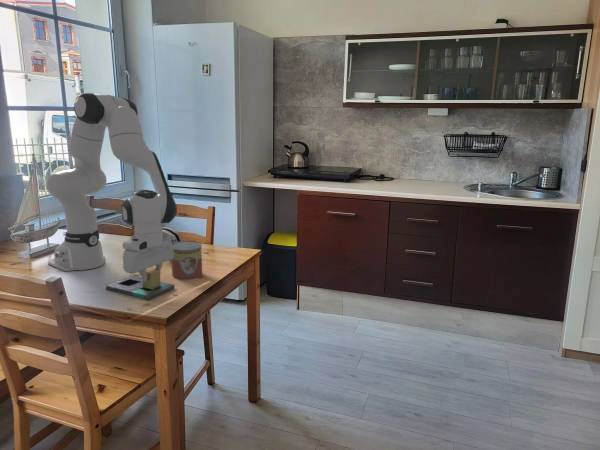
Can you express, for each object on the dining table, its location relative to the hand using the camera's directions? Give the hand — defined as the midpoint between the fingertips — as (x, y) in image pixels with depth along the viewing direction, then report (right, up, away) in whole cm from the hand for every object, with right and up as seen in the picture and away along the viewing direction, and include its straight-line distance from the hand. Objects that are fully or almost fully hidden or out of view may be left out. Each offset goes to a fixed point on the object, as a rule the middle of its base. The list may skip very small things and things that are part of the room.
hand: (151, 278), depth 158 cm
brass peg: (0, -3, +1) cm, 3 cm away
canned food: (+8, -2, +19) cm, 21 cm away
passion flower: (-2, +3, +38) cm, 38 cm away
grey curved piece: (-10, +8, +59) cm, 60 cm away
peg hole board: (-5, -5, +3) cm, 7 cm away
